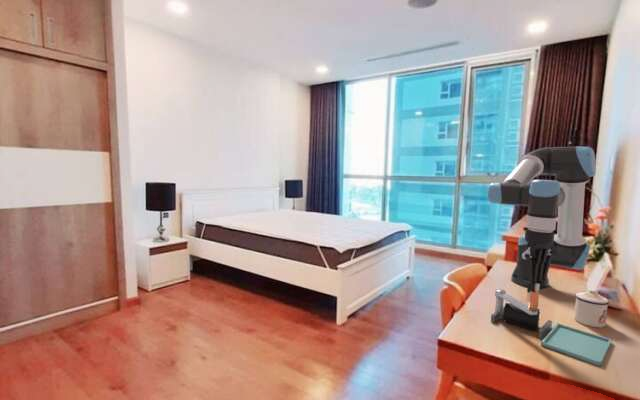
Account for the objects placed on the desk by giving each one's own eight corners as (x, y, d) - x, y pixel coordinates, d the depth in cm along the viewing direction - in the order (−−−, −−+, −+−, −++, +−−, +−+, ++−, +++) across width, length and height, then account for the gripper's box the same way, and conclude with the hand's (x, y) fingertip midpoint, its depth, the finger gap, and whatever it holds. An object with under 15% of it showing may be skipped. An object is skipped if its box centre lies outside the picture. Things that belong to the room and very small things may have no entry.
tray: (557, 326, 113) (557, 323, 113) (611, 343, 103) (611, 339, 103) (540, 345, 101) (541, 341, 100) (600, 366, 90) (600, 362, 90)
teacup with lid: (605, 331, 111) (609, 297, 110) (571, 322, 117) (574, 290, 116) (607, 319, 120) (610, 288, 118) (575, 311, 126) (578, 281, 125)
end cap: (502, 324, 114) (503, 305, 114) (507, 317, 120) (508, 299, 119) (536, 334, 108) (538, 314, 107) (539, 326, 113) (541, 307, 113)
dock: (500, 312, 124) (502, 292, 123) (551, 328, 112) (553, 305, 111) (488, 320, 116) (490, 299, 116) (541, 338, 105) (543, 315, 104)
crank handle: (501, 294, 120) (502, 273, 119) (540, 316, 102) (542, 293, 101) (492, 294, 120) (494, 274, 119) (530, 317, 102) (532, 293, 101)
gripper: (542, 226, 108) (534, 295, 111) (514, 228, 104) (506, 300, 107) (566, 231, 101) (557, 304, 104) (537, 233, 97) (529, 310, 100)
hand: (531, 302), depth 105 cm, fingers closed
